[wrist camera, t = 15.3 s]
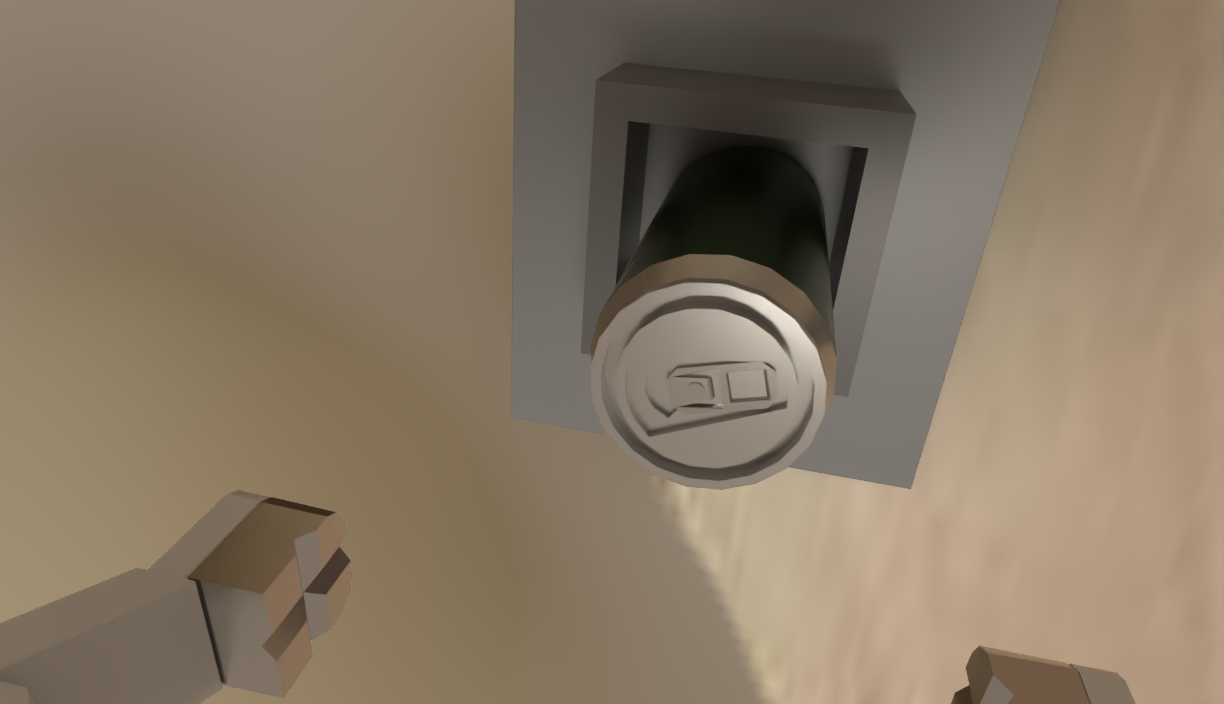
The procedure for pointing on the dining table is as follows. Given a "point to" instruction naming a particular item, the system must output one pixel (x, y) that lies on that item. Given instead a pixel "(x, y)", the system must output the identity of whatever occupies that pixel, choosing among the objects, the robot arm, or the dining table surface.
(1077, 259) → the dining table surface
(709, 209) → the beer can
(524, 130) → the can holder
